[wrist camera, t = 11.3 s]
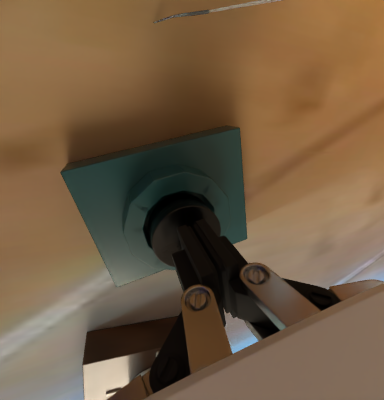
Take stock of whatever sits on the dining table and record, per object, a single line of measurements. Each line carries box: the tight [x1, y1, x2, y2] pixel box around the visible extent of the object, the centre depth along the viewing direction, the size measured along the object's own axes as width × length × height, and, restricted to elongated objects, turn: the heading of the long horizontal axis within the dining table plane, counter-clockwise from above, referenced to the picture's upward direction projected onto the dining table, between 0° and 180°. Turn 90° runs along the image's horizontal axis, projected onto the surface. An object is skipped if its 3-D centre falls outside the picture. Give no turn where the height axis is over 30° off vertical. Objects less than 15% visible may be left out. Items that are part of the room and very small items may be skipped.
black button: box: [148, 194, 221, 267], centre depth 14 cm, size 4×4×2 cm
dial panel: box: [83, 316, 178, 400], centre depth 23 cm, size 13×10×3 cm
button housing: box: [61, 126, 247, 287], centre depth 16 cm, size 12×10×4 cm
